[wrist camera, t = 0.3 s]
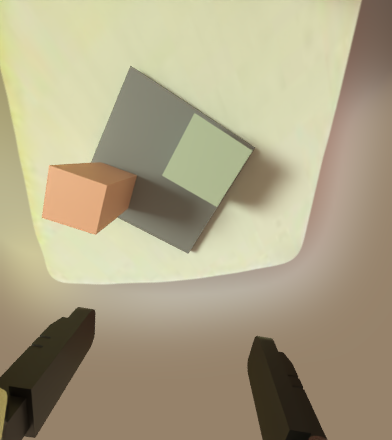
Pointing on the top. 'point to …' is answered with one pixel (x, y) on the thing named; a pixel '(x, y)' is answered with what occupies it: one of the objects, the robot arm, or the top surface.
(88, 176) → the top brick
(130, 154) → the baseplate
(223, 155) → the bottom brick
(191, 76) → the top surface
